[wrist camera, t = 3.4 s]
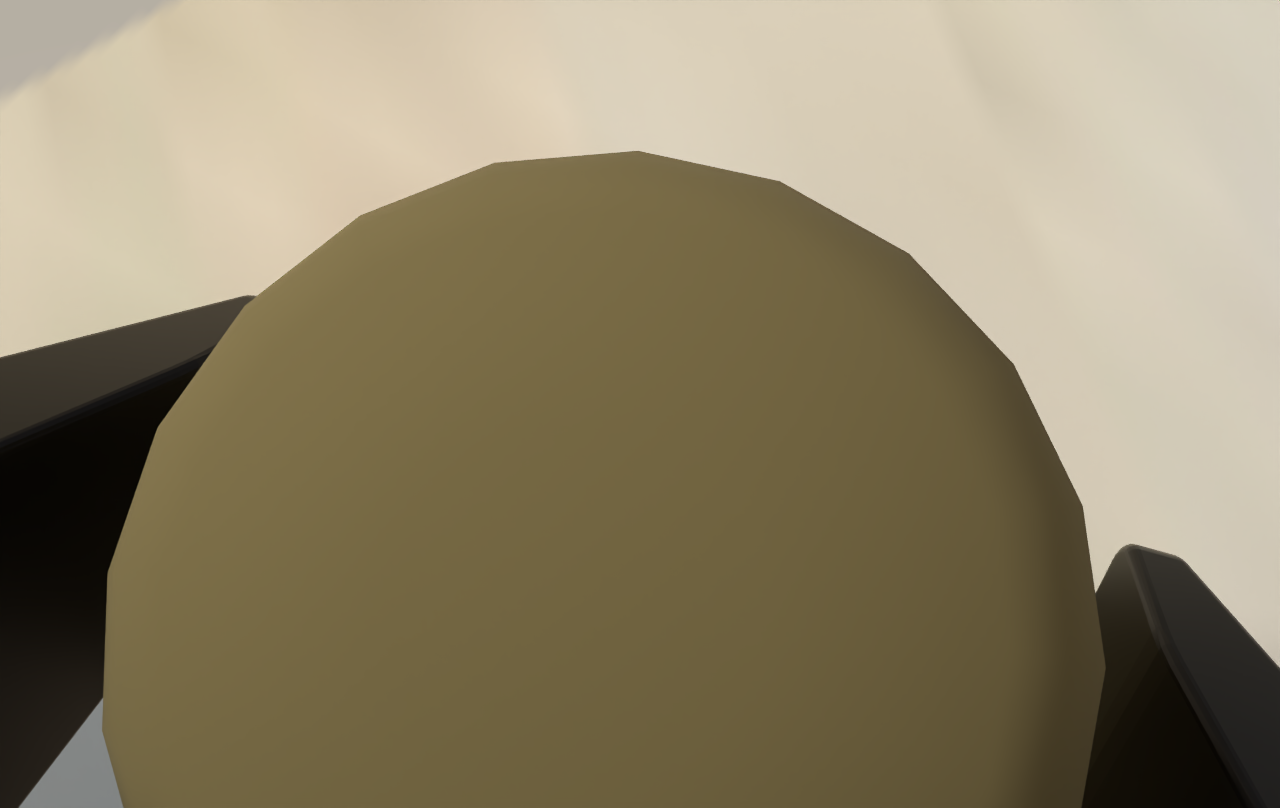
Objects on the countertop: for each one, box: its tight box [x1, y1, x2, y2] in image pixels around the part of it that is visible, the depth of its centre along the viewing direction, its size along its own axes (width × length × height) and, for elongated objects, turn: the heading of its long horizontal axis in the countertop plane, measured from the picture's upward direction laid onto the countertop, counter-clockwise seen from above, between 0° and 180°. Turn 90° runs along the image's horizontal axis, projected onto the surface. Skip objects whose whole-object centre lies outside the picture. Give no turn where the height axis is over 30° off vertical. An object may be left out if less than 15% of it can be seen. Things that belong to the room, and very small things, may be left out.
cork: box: [102, 151, 1106, 808], centre depth 10 cm, size 6×6×11 cm
